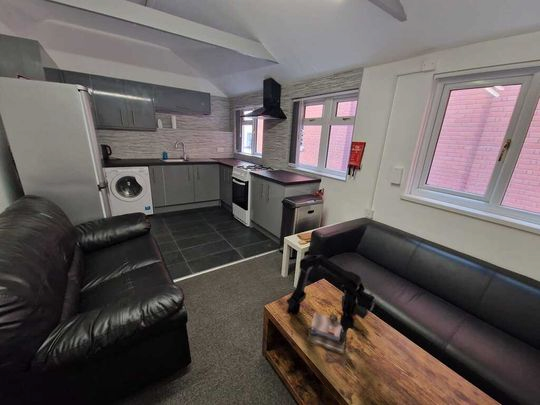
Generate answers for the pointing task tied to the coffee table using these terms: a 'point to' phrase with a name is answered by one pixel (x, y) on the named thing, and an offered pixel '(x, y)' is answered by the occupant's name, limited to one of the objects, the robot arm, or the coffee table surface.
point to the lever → (329, 335)
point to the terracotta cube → (331, 332)
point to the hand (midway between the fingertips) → (345, 324)
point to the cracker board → (326, 331)
